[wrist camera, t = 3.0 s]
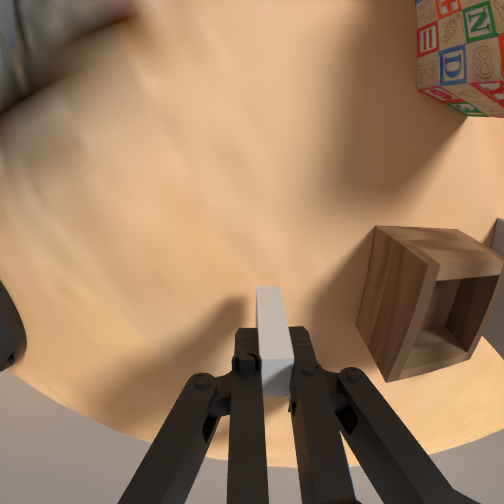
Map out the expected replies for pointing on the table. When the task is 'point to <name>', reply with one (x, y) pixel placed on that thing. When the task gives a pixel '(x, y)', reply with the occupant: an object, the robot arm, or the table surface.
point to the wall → (500, 323)
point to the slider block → (426, 298)
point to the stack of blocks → (462, 54)
